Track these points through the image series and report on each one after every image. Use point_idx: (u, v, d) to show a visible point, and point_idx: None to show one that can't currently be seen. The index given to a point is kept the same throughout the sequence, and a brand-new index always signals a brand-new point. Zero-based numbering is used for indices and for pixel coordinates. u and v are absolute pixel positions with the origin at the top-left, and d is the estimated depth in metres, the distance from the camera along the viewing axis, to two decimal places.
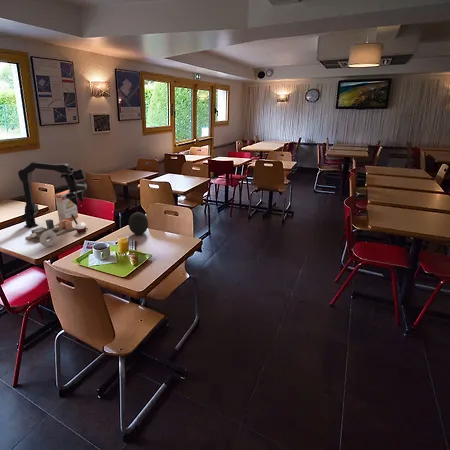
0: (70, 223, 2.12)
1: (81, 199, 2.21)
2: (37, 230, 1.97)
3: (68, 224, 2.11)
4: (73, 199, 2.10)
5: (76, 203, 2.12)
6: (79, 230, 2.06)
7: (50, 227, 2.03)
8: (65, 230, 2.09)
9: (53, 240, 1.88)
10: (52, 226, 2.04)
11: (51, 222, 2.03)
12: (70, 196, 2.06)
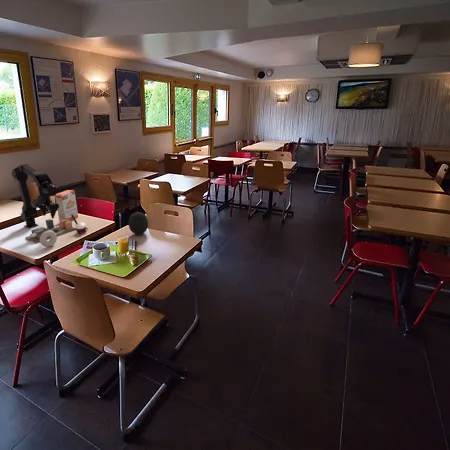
0: (70, 223, 2.12)
1: None
2: (37, 230, 1.97)
3: (68, 224, 2.11)
4: None
5: None
6: (79, 230, 2.06)
7: (50, 227, 2.03)
8: (65, 230, 2.09)
9: (53, 240, 1.88)
10: (52, 226, 2.04)
11: (51, 222, 2.03)
12: None
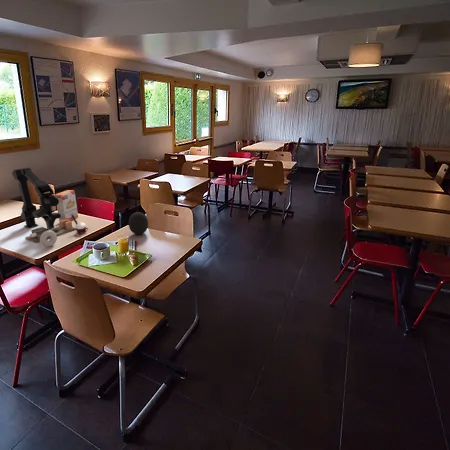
0: (70, 223, 2.12)
1: None
2: (37, 230, 1.97)
3: (68, 224, 2.11)
4: None
5: None
6: (79, 230, 2.06)
7: (50, 227, 2.03)
8: (65, 230, 2.09)
9: (53, 240, 1.88)
10: None
11: None
12: None
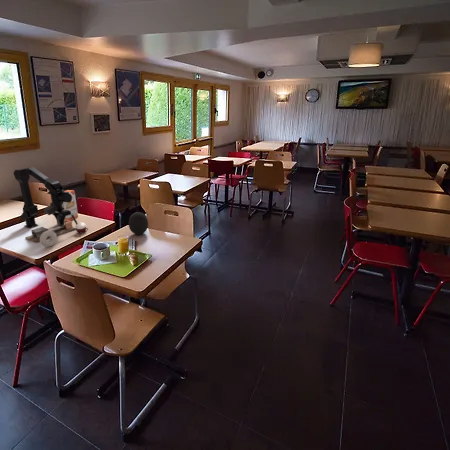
0: (70, 223, 2.12)
1: None
2: (37, 230, 1.97)
3: (68, 224, 2.11)
4: None
5: None
6: (79, 230, 2.06)
7: (60, 224, 2.08)
8: (65, 230, 2.09)
9: (53, 240, 1.88)
10: None
11: None
12: None
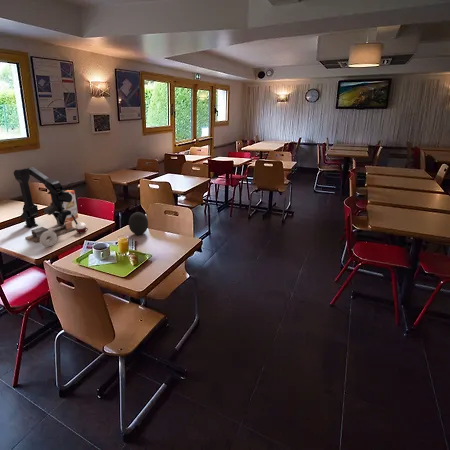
0: (70, 223, 2.12)
1: None
2: (37, 230, 1.97)
3: (68, 224, 2.11)
4: None
5: None
6: (79, 230, 2.06)
7: (60, 224, 2.08)
8: (65, 230, 2.09)
9: (53, 240, 1.88)
10: None
11: None
12: None
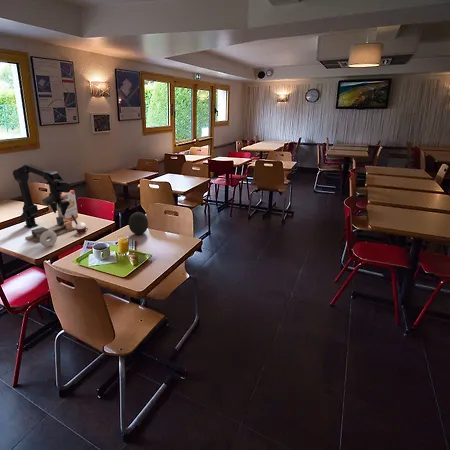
0: (70, 223, 2.12)
1: None
2: (37, 230, 1.97)
3: (68, 224, 2.11)
4: None
5: None
6: (79, 230, 2.06)
7: (60, 224, 2.08)
8: (65, 230, 2.09)
9: (53, 240, 1.88)
10: (62, 223, 2.09)
11: (61, 219, 2.08)
12: None
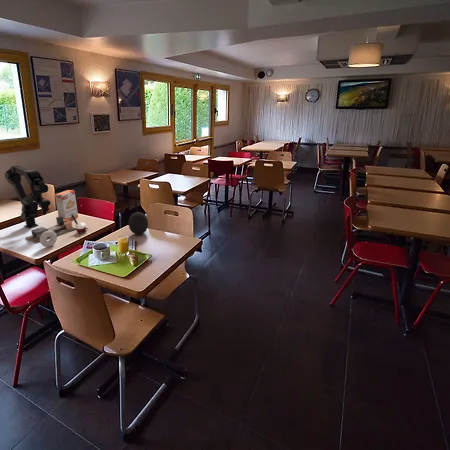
0: (70, 223, 2.12)
1: None
2: (37, 230, 1.97)
3: (68, 224, 2.11)
4: None
5: None
6: (79, 230, 2.06)
7: (60, 224, 2.08)
8: (65, 230, 2.09)
9: (53, 240, 1.88)
10: (62, 223, 2.09)
11: (61, 219, 2.08)
12: None
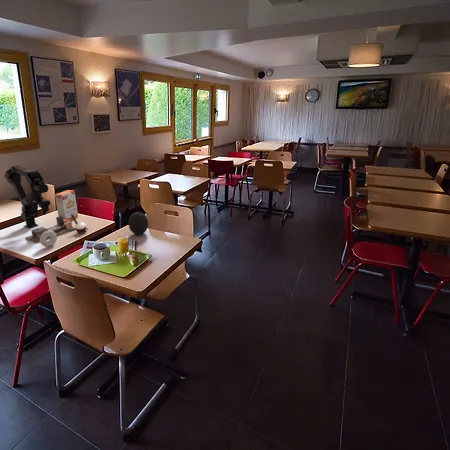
0: (70, 223, 2.12)
1: None
2: (37, 230, 1.97)
3: (68, 224, 2.11)
4: None
5: None
6: (79, 230, 2.06)
7: (60, 224, 2.08)
8: (65, 230, 2.09)
9: (53, 240, 1.88)
10: (62, 223, 2.09)
11: (61, 219, 2.08)
12: None
